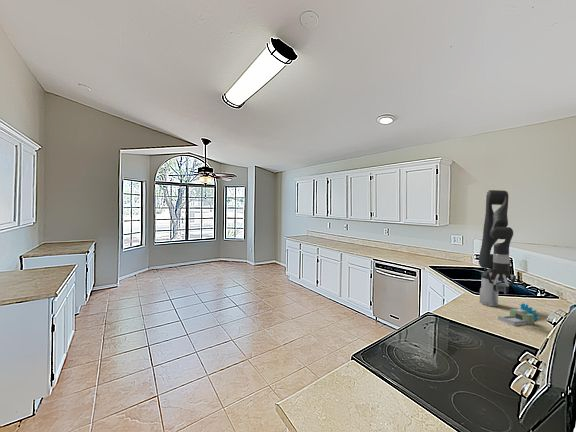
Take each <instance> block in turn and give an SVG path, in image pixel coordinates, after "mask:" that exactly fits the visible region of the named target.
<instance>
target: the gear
mask: <svg viewBox="0 0 576 432" xmlns="http://www.w3.org/2000/svg"><path fill="white" fill-rule="evenodd" d="M519 306H520V308H519V309H522V310H526V312H527V313H530V314H533V315H534V321H537V320H539V318H538V317H539V314H537V310H536V309H534V310H533V308H532V307H531V306H530V307H529V305H528V304H525V303H520V305H519Z"/></svg>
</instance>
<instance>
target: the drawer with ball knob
mask: <svg viewBox="0 0 576 432" xmlns="http://www.w3.org/2000/svg"><path fill="white" fill-rule="evenodd" d="M497 320H498V321H500V322H503V323H506V324H508V325H511V326H514V327H515V326H518V327H519V326H524V325H525V326H526V325H528V326H530V325H531V326H532V325H535V320H534V315H533V314H530V313H527V312H526V310H522V309H521V308H510V309H509V315H504V316H503V315H502V316H500V315H497Z"/></svg>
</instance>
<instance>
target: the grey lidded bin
mask: <svg viewBox="0 0 576 432" xmlns="http://www.w3.org/2000/svg"><path fill="white" fill-rule="evenodd" d="M499 292H503V295H506V294H507V293H506V284H505V282H500V281H499V282H497V283H496V293H498V294H499Z"/></svg>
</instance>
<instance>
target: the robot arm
mask: <svg viewBox="0 0 576 432" xmlns="http://www.w3.org/2000/svg"><path fill="white" fill-rule="evenodd" d="M495 205H496V206H499V208H498V209H496V210H495V211H494V209H493V206H495ZM508 209H509V192H508V191H507V190H502V189H501V190H497V189H496V190H495V189H494V190H493V189H492V190H491V189H490V190H488V191H487V192H486V200H485V215H484V216H485V217H484V223H483V232H482V239H481V246H480V251H479V255H478V264H479V266H480V267H481V268H482V269H487V270H486V271H483V272H481V275H480V276H481V281H480V282H481V284H480V285H481V286H480V288H479V303H481V304H482V305H485V306H489V307H498V306H499V292H498V293H496V283H497V282H500V280H501V281H504V283H505V284H506V294H508V293H510V287H513V286H514V283H515V281H516V279H517V275H515V274H511V273H510V272H511V271H510V266H511V265H510V264H511V261H510V246H511V245H510V244H511V240H512V238H513V237H514V229H513V228H512V227H509V226H508V225H509V220H508V219H509V218H508ZM498 240H504V241H503V242H499V243H498ZM492 248H493V253H491V251H492ZM508 278H510V279H511V281H510V283H509V281H508Z"/></svg>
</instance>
